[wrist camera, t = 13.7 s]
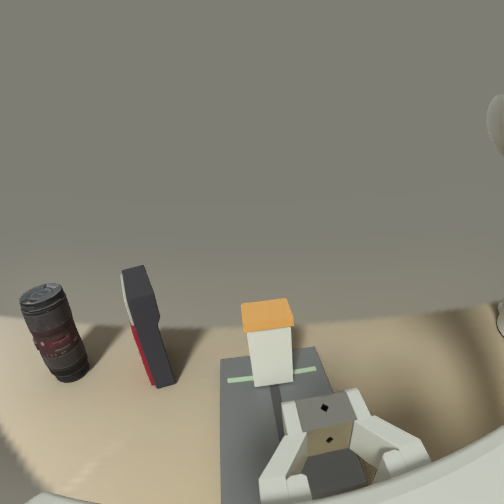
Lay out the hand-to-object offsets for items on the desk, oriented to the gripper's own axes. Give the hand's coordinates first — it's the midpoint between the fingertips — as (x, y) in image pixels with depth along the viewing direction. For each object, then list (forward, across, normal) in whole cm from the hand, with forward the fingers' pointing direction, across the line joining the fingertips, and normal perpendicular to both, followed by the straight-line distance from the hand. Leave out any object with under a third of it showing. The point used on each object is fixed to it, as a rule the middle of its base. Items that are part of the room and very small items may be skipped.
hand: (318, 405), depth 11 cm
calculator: (+30, +18, +21) cm, 40 cm away
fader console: (+17, +1, +21) cm, 27 cm away
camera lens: (+28, +34, +21) cm, 49 cm away
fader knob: (+24, +1, +20) cm, 31 cm away
